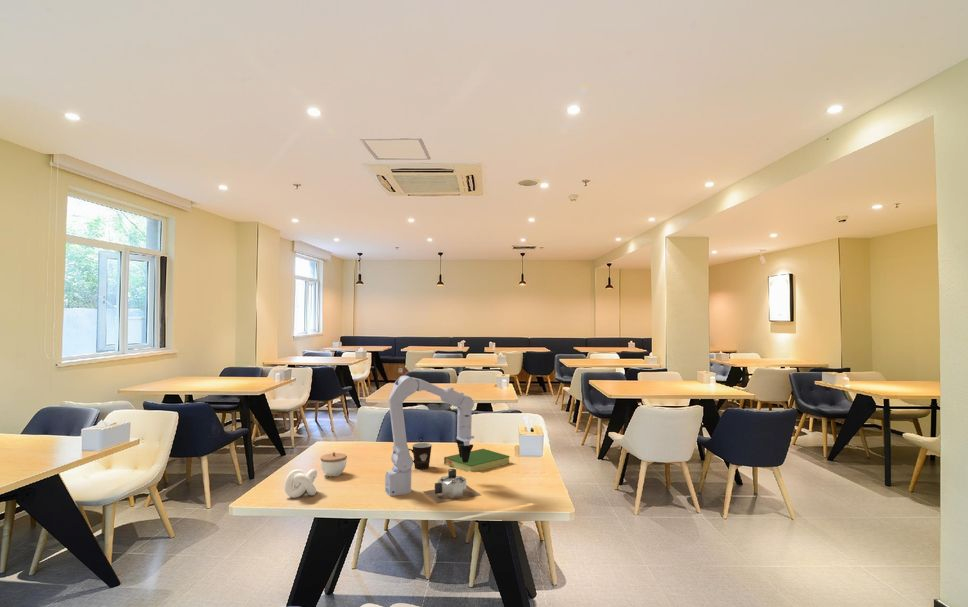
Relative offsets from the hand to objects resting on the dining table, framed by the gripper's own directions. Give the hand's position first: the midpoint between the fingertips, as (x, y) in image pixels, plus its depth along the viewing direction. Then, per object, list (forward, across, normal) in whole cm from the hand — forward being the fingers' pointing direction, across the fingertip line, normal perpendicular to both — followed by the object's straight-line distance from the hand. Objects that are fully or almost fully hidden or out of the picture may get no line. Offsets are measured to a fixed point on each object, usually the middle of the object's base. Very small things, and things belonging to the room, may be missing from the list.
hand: (463, 459), depth 190 cm
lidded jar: (+10, +24, +53) cm, 59 cm away
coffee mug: (+10, +28, +16) cm, 34 cm away
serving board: (+10, -11, +6) cm, 16 cm away
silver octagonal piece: (+9, -11, +7) cm, 16 cm away
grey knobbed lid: (+6, -11, +6) cm, 14 cm away
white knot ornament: (+11, 0, +62) cm, 63 cm away
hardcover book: (+11, +29, -10) cm, 33 cm away
